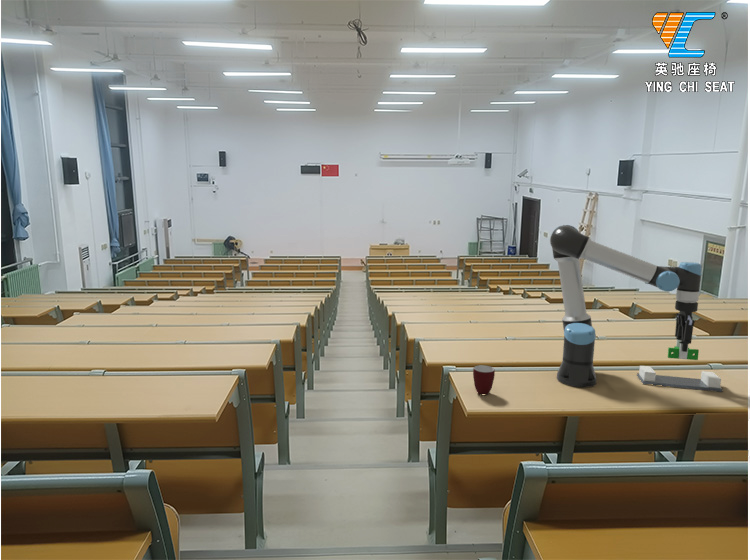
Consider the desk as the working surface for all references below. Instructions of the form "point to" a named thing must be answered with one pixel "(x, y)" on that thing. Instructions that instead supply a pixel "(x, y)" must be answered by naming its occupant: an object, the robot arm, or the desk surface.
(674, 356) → the pipe clamp
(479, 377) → the mug
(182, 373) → the desk surface
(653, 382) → the mounting rail
